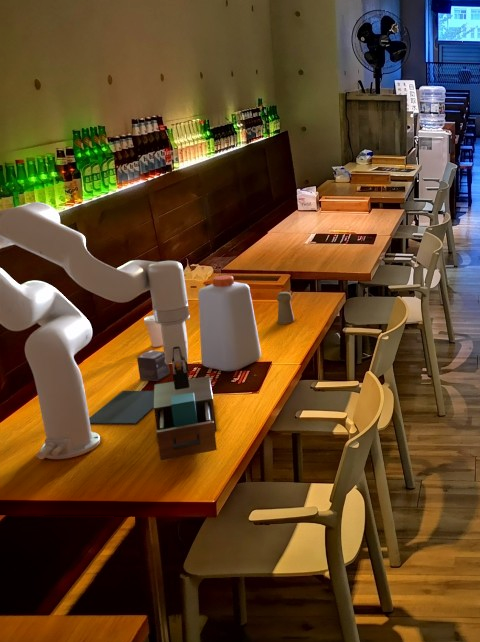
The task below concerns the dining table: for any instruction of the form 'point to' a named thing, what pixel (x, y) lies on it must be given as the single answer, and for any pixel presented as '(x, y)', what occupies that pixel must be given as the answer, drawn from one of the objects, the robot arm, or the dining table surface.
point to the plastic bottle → (227, 325)
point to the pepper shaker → (284, 308)
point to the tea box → (183, 409)
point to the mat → (125, 408)
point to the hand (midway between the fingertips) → (182, 380)
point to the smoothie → (154, 331)
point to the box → (152, 366)
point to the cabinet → (196, 386)
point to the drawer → (185, 435)
